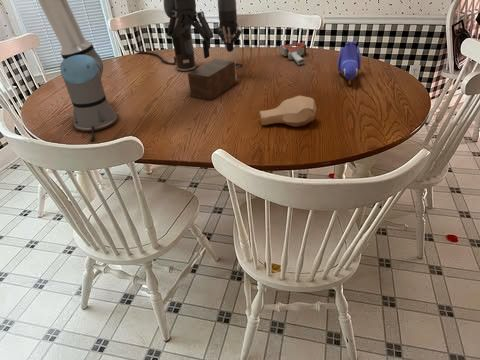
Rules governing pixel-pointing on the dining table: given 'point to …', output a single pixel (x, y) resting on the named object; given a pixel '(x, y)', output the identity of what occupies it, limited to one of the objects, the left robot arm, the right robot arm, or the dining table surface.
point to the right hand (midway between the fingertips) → (230, 51)
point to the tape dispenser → (294, 52)
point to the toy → (349, 61)
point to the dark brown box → (212, 79)
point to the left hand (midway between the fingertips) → (192, 55)
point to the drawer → (237, 68)
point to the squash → (291, 112)
